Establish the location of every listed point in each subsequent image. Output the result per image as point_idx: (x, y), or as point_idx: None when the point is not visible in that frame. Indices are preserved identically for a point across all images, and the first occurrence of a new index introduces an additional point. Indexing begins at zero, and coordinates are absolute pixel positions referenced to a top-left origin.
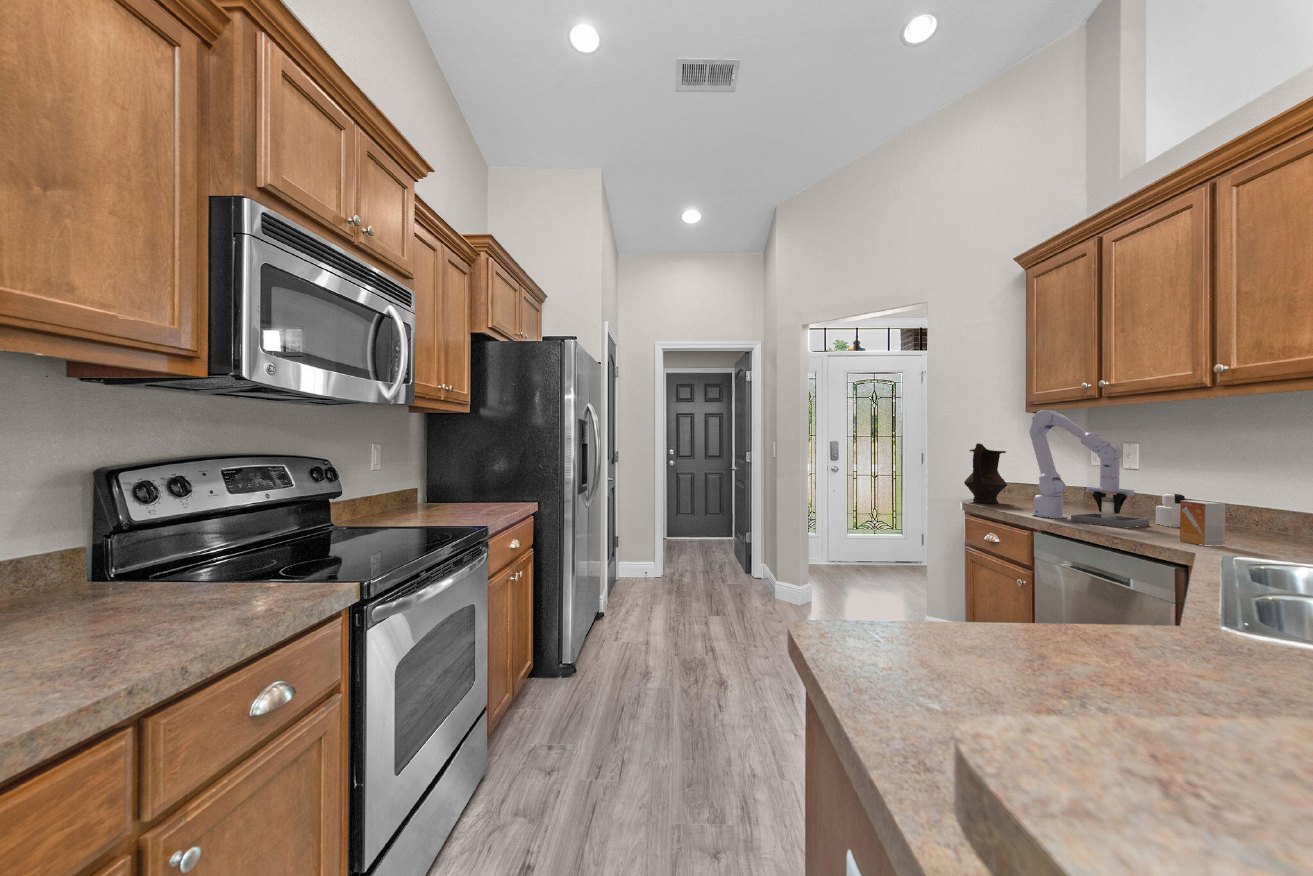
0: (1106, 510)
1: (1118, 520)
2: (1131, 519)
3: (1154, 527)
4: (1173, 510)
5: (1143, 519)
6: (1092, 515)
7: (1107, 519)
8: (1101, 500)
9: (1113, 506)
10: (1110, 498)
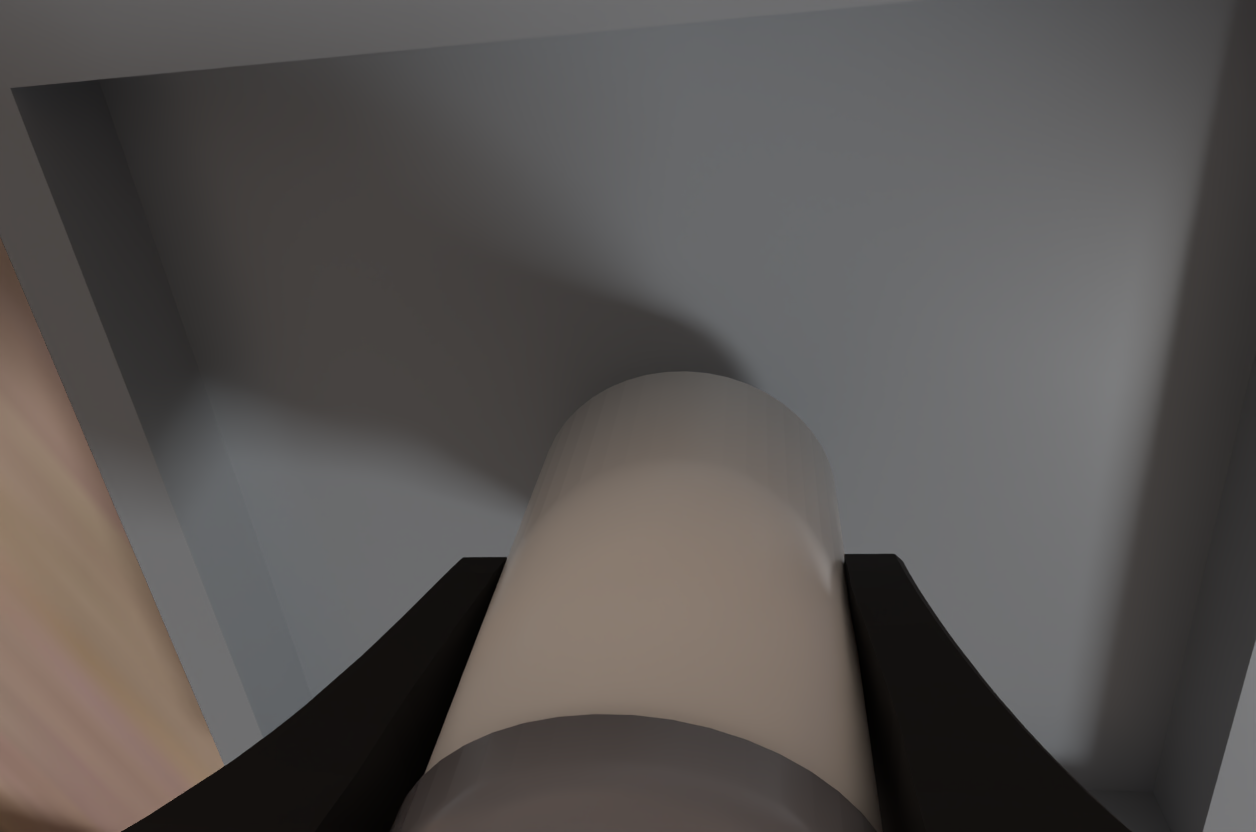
0: (637, 500)
1: (126, 35)
2: None
3: (173, 676)
4: None
5: (238, 754)
6: (1191, 769)
7: None
8: (849, 829)
9: (460, 680)
10: None
